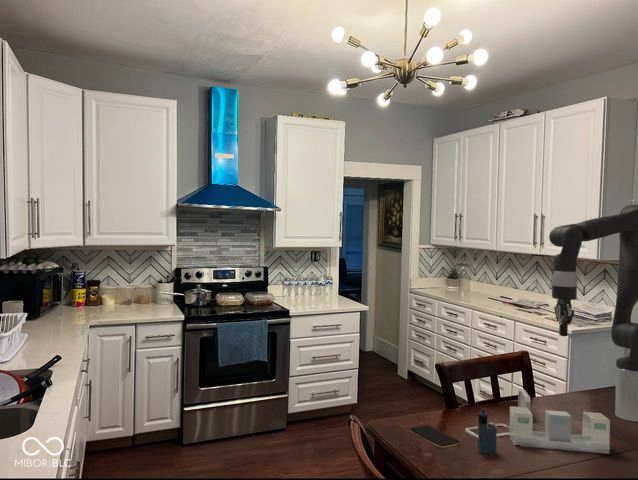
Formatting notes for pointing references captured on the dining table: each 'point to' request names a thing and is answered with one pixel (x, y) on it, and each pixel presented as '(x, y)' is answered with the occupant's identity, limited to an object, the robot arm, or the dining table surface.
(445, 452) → the dining table surface
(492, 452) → the vaping device
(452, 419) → the dining table surface
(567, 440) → the grey module
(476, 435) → the white rectangular frame
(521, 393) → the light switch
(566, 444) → the white u-shaped block
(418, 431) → the smartphone
